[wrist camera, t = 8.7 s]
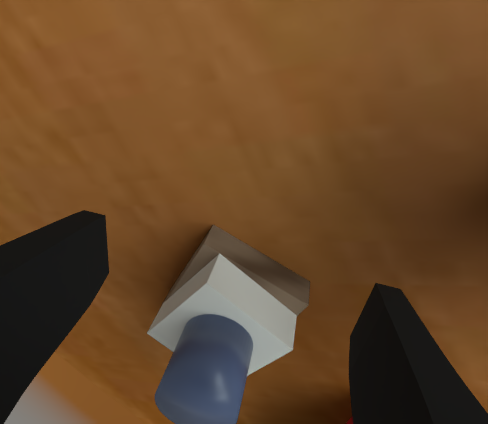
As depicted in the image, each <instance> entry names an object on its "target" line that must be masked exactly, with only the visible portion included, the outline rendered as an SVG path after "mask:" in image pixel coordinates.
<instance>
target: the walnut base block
mask: <svg viewBox="0 0 488 424" xmlns="http://www.w3.org/2000/svg"><path fill="white" fill-rule="evenodd" d="M218 254H221V255H222V256H223V257H225V258H226V259H227V260H228V261H230V262H231V263H232V264H233V265H235V266H236V267H237V268H238V269H240V270H241V271H242V272H243V273H245V274H246V275H247V276H248V277H250V278H251V279H252V280H253V281H255V282H256V283H257V284H258V285H260V286H261V287H262V288H263V289H265V290H266V291H267V292H268V293H269V294H271V295H272V296H273V297H274V298H276V299H277V300H278V301H279V302H281V303H282V304H283V305H284V306H286V307H287V308H288V309H289V310H291V311H292V312H293V313H294V314H295V315H297V316H298V315H299V314H300V313H301V312H302V311H303V310H304V309H305V308H306V307H307V306H308V304H309V290H310V281H308V280H306V279H305V278H303V277H301V276H300V275H298V274H296V273H295V272H293V271H291V270H289V269H288V268H286V267H284V266H283V265H281V264H279V263H278V262H276V261H274V260H273V259H271V258H269V257H267V256H266V255H264V254H262V253H261V252H259V251H257V250H256V249H254V248H252V247H251V246H249V245H247V244H245V243H244V242H242V241H240V240H239V239H237V238H235V237H234V236H232V235H230V234H229V233H227V232H225V231H224V230H222V229H220V228H218V227H217V226H215V225H213V226H212V227H211V229H210V230H209V232H208V233H207V235H206V236H205V238H204V239H203V241H202V243H201V244H200V246H199V247H198V249H197V250H196V252H195V253H194V255H193V256H192V258H191V259H190V261H189V262H188V264H187V265H186V267H185V268H184V270H183V271H182V273H181V274H180V276H179V277H178V279H177V280H176V282H175V284H174V285H173V287H172V288H171V290H170V291H169V293H168V295H167V297H166V298H165V300H164V302H165V301H166V300H167V299H168V298H169V297H171V296H172V295H173V294H174V293H175V292H176V291H177V290H179V289H180V288H181V287H182V286H183V285H184V284H185V283H187V282H188V281H189V280H190V279H191V278H192V277H193V276H195V275H196V274H197V273H198V272H199V271H200V270H201V269H202V268H204V267H205V266H206V265H207V264H208V263H209V262H210V261H212V260H213V259H214V258H215V257H216V256H217V255H218ZM164 302H163V303H164Z"/></svg>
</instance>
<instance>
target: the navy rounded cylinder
mask: <svg viewBox="0 0 488 424" xmlns="http://www.w3.org/2000/svg"><path fill="white" fill-rule="evenodd" d="M252 351H253V341H252V338H251V336H250V334H249V333H248V332H247V330H246V329H245V328H244V327H243V326H241V325H240V324H239V323H237V322H235V321H234V320H232V319H229V318H227V317H224V316H220V315H215V314H203V315H198V316H196V317H193V318H192V319H190V320H189V321H188V322H187V323H186V325H185V327H184V329H183V332H182V334H181V336H180V338H179V341H178V343H177V345H176V348H175V350H174V352H173V354H172V357H171V359H170V361H169V364H168V366H167V368H166V370H165V373H164V375H163V377H162V379H161V382H160V384H159V386H158V389H157V391H156V394H155V402H156V405H157V407H158V408H159V410H160V411H161V412H162V413H163V414H164V415H165V416H166V417H167V418H168V419H169V420H171V421H172V422H174V423H175V424H236V423H237V419H238V415H239V410H240V406H241V401H242V397H243V392H244V388H245V383H246V379H247V374H248V369H249V365H250V360H251V356H252Z"/></svg>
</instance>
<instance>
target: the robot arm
mask: <svg viewBox="0 0 488 424" xmlns="http://www.w3.org/2000/svg"><path fill="white" fill-rule="evenodd" d="M108 274H109V265H108V249H107V234H106V219H105V215H101V214H97V213H93V212H89V211H85V210H83V211H81V212H78V213H75V214H73V215H70V216H68V217H65V218H63V219H61V220H58V221H56V222H54V223H51V224H49V225H47V226H45V227H42V228H40V229H38V230H35V231H33V232H31V233H28V234H26V235H24V236H22V237H19V238H17V239H15V240H12V241H10V242H8V243H5V244H3V245H0V424H4V422H5V420H6V419H7V418H8V416H9V415H10V413H11V411H12V410H13V408H14V407H15V405H16V403H17V402H18V400H19V399H20V397H21V396H22V394H23V393H24V391H25V390H26V389H27V387H28V386H29V384H30V383H31V382H32V380H33V379H34V377H35V376H36V375H37V373H38V372H39V371H40V370H41V368H42V367H43V366H44V364H45V363H46V361H48V359H49V358H50V357H51V355H52V354H53V353H54V351H55V350H56V349H57V348H58V346H59V345H60V344H61V342H62V341H63V340H64V339H65V337H66V336H67V335H68V333H69V332H70V331H71V330H72V328H73V327H74V326H75V324H76V323H77V322H78V320H79V319H80V318H81V316H82V315H83V314H84V313H85V311H86V310H87V308H88V307H89V306H90V304H91V303H92V301H93V300H94V298H95V296H96V295H97V293H98V291H99V290H100V288H101V286H102V284H103V282H104V281H105V279H106V277H107V275H108ZM349 383H350V395H351V408H352V419H353V424H488V413H487V412H486V411H485V410H484V408H483V407H482V406H481V404H480V403H479V402H478V400H477V399H476V398H475V396H474V395H473V394H472V393H471V391H470V390H469V389H468V387H467V386H466V385H465V383H464V382H463V380H462V379H461V378H460V376H459V375H458V374H457V372H456V371H455V369H454V368H453V367H452V365H451V364H450V362H449V361H448V359H447V358H446V357H445V355H444V354H443V352H442V351H441V349H440V348H439V346H438V345H437V343H436V342H435V340H434V339H433V338H432V336H431V335H430V333H429V331H428V330H427V328H426V327H425V325H424V324H423V322H422V321H421V319H420V318H419V316H418V315H417V313H416V312H415V310H414V309H413V307H412V306H411V304H410V303H409V301H408V299H407V298H406V296H405V295H404V294H403V292H402V291H401V289H398V288H394V287H390V286H386V285H382V284H378V283H375V286H374V288H373V290H372V292H371V294H370V296H369V298H368V300H367V302H366V304H365V306H364V309H363V311H362V313H361V315H360V317H359V319H358V321H357V323H356V325H355V327H354V329H353V332H352V334H351V336H350V353H349Z"/></svg>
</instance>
